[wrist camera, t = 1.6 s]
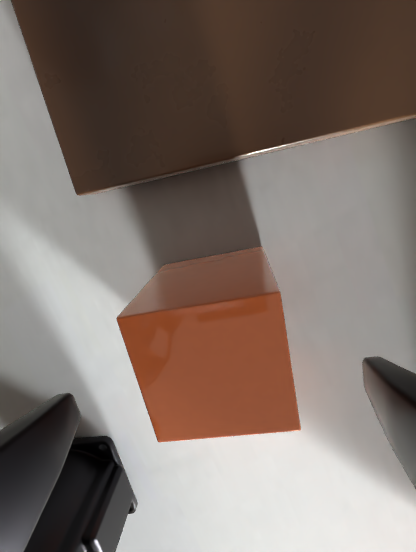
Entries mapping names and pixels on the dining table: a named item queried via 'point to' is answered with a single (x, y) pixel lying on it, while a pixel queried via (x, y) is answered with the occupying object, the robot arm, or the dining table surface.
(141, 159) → the board
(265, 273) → the terracotta block
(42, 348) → the dining table surface
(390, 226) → the dining table surface
